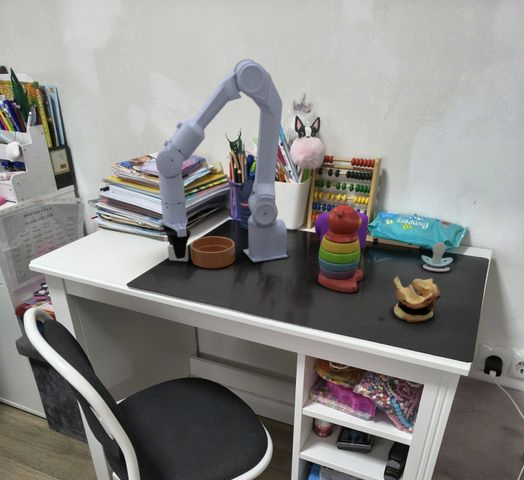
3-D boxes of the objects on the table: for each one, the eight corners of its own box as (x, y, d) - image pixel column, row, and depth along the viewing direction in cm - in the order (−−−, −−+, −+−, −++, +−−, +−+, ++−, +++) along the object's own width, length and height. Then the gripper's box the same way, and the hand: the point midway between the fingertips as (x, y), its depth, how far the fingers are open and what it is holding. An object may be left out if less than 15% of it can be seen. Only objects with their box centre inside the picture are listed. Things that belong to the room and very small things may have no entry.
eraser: (170, 258, 128) (169, 244, 126) (188, 259, 127) (187, 246, 125) (169, 260, 127) (167, 246, 125) (187, 261, 126) (186, 247, 124)
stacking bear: (355, 294, 111) (364, 216, 101) (311, 287, 114) (316, 210, 104) (364, 275, 119) (373, 201, 109) (323, 269, 122) (328, 196, 112)
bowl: (227, 250, 132) (226, 234, 130) (241, 266, 124) (240, 249, 121) (187, 256, 129) (185, 239, 126) (198, 272, 120) (196, 255, 118)
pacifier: (451, 275, 120) (450, 264, 125) (457, 250, 116) (455, 240, 121) (420, 272, 121) (419, 261, 126) (425, 248, 117) (424, 238, 122)
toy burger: (429, 331, 97) (438, 293, 93) (381, 320, 101) (386, 283, 97) (441, 305, 106) (449, 270, 102) (396, 296, 110) (401, 261, 105)
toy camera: (325, 235, 141) (328, 200, 136) (369, 246, 135) (374, 209, 129) (305, 247, 134) (307, 210, 128) (350, 259, 127) (355, 221, 122)
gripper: (150, 194, 123) (157, 246, 131) (162, 212, 112) (169, 267, 119) (178, 191, 125) (183, 243, 133) (193, 208, 114) (197, 263, 121)
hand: (178, 254), depth 126 cm, fingers open, 4 cm apart
